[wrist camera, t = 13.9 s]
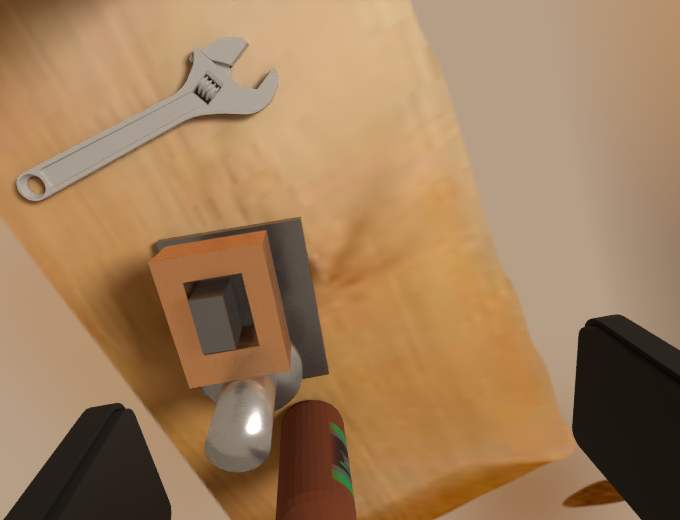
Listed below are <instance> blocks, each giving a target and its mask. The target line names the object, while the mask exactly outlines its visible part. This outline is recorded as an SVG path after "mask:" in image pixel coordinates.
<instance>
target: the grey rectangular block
mask: <svg viewBox="0 0 680 520" xmlns="http://www.w3.org/2000/svg"><path fill="white" fill-rule="evenodd" d="M188 304H189V307H190V311H191V314H192V318H193V321H194V325H195V328H196V332H197V335H198V339H199V342H200V346H201V349H202V353H203V354H209V353H215V352H222V351H228V350H234V349H236V347H237V344H238V340H239V337H240V333H241V330H242V326H243V323H244V319H245V316H246V312H247V309H248V305H249V301H248V297H247V293H246V289H245V285H244V281H243V276H242V273H238V274H232V275H226V276H220V277H214V278H209V279H203V280H201V281H200V282H199V284H198V285H197V287H196V289H195V290H194V292H193V293H192V295H191V297H190V298H189V300H188Z"/></svg>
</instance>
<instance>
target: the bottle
mask: <svg viewBox="0 0 680 520" xmlns="http://www.w3.org/2000/svg"><path fill="white" fill-rule="evenodd" d="M276 520H356V510H355V502H354V495H353V488H352V481H351V474H350V467H349V459H348V452H347V445H346V438H345V431H344V423H343V420H342V417H341V415H340V413H339V412H338V410H337V409H336V408H335V407H333V406H332V405H331V404H328V403H326V402H323V401H314V400H310V401H306V402H302V403H300V404H297V405H296V406H294V407H293V408H292V409H290V410H289V412H288V413H287V415H286V416H285V418H284V420H283V423H282V429H281V444H280V460H279V476H278V491H277V507H276Z"/></svg>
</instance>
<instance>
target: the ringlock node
mask: <svg viewBox="0 0 680 520" xmlns="http://www.w3.org/2000/svg"><path fill="white" fill-rule="evenodd" d="M156 247H157V250H158V254H157V255H156V256H155V257H154V258H153V259H151V260H150V261H149V262H148V264H149V267H150V270H151V273H152V276H153V279H154V282H155V285H156V288H157V291H158V294H159V297H160V300H161V304H162V307H163V310H164V313H165V316H166V319H167V322H168V325H169V328H170V331H171V334H172V337H173V340H174V343H175V346H176V349H177V352H178V355H179V358H180V361H181V364H182V367H183V370H184V373H185V376H186V379H187V382H188V385H189V388H196V387H201V388H202V391H203V394H204V396H209V398H210V399H211V400H212V401H213V402H214V403H215V404H216V408H215V411H214V414H213V418H212V421H211V424H210V428H209V431H208V435H207V438H206V441H205V453H206V455H207V457H208V459H209V460H210V461H211V463H213V464H214V465H215V466H216V467H218V468H220V469H222V470H225V471H229V472H246V471H250V470H253V469H255V468H257V467H258V466H260V465H261V464H263V463H264V461H265V460H266V459H267V458H268V456H269V453H270V449H271V438H272V428H273V417H274V411H276V410H278V409H280V408H282V407H283V406H285V405H286V404H287V403H289V402H290V401H291V400H292V399H293V398H294V396H295V395H296V393H297V392H298V390H299V388H300V385H301V381H302V379H305V378H310V377H316V376H321V375H327V374H329V371H328V364H327V359H326V354H325V348H324V343H323V337H322V332H321V326H320V321H319V315H318V310H317V304H316V299H315V293H314V288H313V282H312V277H311V271H310V266H309V260H308V255H307V249H306V244H305V239H304V233H303V228H302V222H301V217H297V218H291V219H285V220H279V221H273V222H266V223H260V224H254V225H248V226H242V227H236V228H230V229H224V230H217V231H211V232H205V233H199V234H193V235H187V236H181V237H174V238H168V239H162V240H158V241H157V242H156ZM238 273H242V276H243V281H244V285H245V289H246V293H247V297H248V301H249V305H248V309H247V312H246V316H245V319H244V323H243V326H242V330H241V333H240V337H239V340H238V344H237V347H236V349H234V350H228V351H222V352H215V353H209V354H203V353H202V349H201V346H200V342H199V339H198V335H197V332H196V328H195V325H194V321H193V318H192V314H191V311H190V307H189V304H188V300H189V298H190V297H191V295H192V293H193V292H194V290H195V289H196V287H197V285H198V284H199V282H200V281H201V280H203V279H209V278H214V277H220V276H226V275H232V274H238Z"/></svg>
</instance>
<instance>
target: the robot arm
mask: <svg viewBox="0 0 680 520" xmlns="http://www.w3.org/2000/svg"><path fill="white" fill-rule="evenodd" d="M572 431H573V435H574V438H575V440H576V442H577V444H578V445H579V447H580V448H581V449H582V450H583V451H584V453H585V454H586V455H587V456H588V457H589V458H590V460H591V461H592V462H593V463H594V464H595V466H596V467H597V468H598V469H599V470H600V471H601V473H602V474H603V475H604V476H605V477H606V479H607V480H608V481H609V482H610V483H611V484H612V486H613V487H614V488H615V489H616V490H617V491H618V493H619V494H620V495H621V496H622V497H623V499H624V500H625V501H626V502H627V503H628V504H629V506H630V507H631V508H632V509H633V510H634V511H635V513H636V514H637V515H638V516H639V517H640V519H641V520H680V350H678V349H677V348H675V347H673V346H672V345H670V344H668V343H667V342H665V341H663V340H662V339H660V338H659V337H657V336H655V335H653V334H652V333H650V332H648V331H647V330H645V329H644V328H642V327H641V326H639V325H637V324H636V323H634V322H632V321H631V320H629V319H627V318H626V317H624V316H622V315H610V316H604V317H599V318H593V319H590V320H588V321H587V322H586V324H585V327H583V328H581V330H580V332H579V337H578V351H577V366H576V380H575V395H574V409H573V424H572ZM4 520H171V505H170V502H169V499H168V497H167V494H166V492H165V489H164V487H163V484H162V482H161V479H160V477H159V474H158V472H157V469H156V467H155V464H154V462H153V459H152V456H151V454H150V452H149V449H148V446H147V445H146V441H145V439H144V436H143V434H142V431H141V429H140V426H139V424H138V422H137V419H136V416H135V414H134V412H133V411H132V410H131V409H125V407H124V406H123V405H122V404H120V403H114V404H108V405H103V406H97V407H91V408H88V409H86V410H85V411H84V412H83V413H82V415H81V416H80V418H79V419H78V420H77V422H76V423H75V424H74V426H73V427H72V428H71V430H70V431H69V432H68V434H67V435H66V436H65V438H64V439H63V441H62V442H61V443H60V444H59V446H58V447H57V448H56V450H55V451H54V453H53V454H52V455H51V457H50V458H49V459H48V461H47V462H46V463H45V465H44V466H43V467H42V469H41V470H40V471H39V473H38V474H37V475H36V477H35V478H34V479H33V481H32V482H31V483H30V485H29V486H28V487H27V489H26V490H25V492H24V493H23V494H22V496H21V497H20V498H19V500H18V501H17V502H16V504H15V505H14V506H13V508H12V509H11V510H10V512H9V513H8V515H7V516H6V517H5V518H4Z"/></svg>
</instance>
